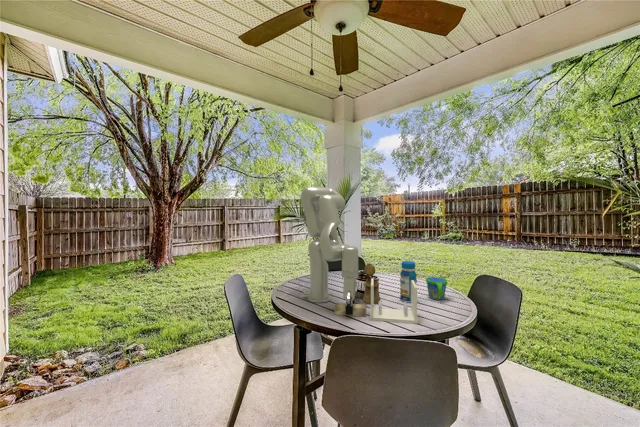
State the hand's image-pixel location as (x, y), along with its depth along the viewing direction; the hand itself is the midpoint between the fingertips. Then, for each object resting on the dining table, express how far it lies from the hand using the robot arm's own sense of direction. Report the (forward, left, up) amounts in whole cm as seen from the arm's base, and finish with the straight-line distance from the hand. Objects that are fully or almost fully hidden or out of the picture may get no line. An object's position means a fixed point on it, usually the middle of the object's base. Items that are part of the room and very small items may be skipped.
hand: (350, 310), depth 129 cm
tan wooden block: (0, 0, -2) cm, 2 cm away
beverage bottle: (+28, +24, -2) cm, 37 cm away
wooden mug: (+9, +21, -2) cm, 23 cm away
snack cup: (+43, +30, -2) cm, 52 cm away
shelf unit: (+19, 0, -1) cm, 19 cm away
